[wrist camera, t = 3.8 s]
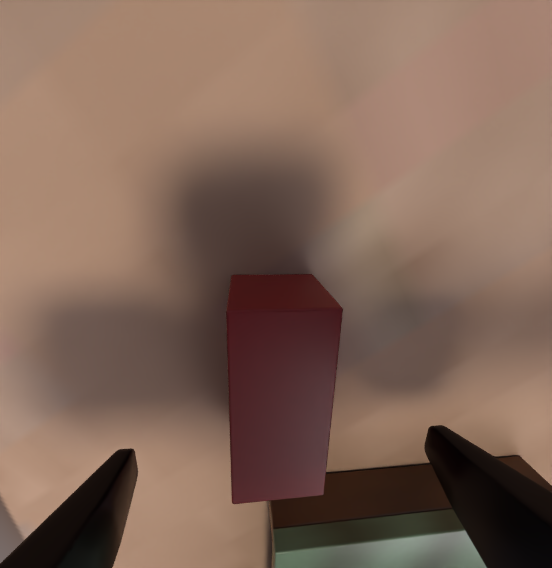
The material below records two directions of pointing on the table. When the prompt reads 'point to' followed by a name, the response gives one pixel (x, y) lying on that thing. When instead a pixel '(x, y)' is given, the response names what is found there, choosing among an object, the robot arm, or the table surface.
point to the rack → (377, 522)
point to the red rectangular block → (280, 384)
